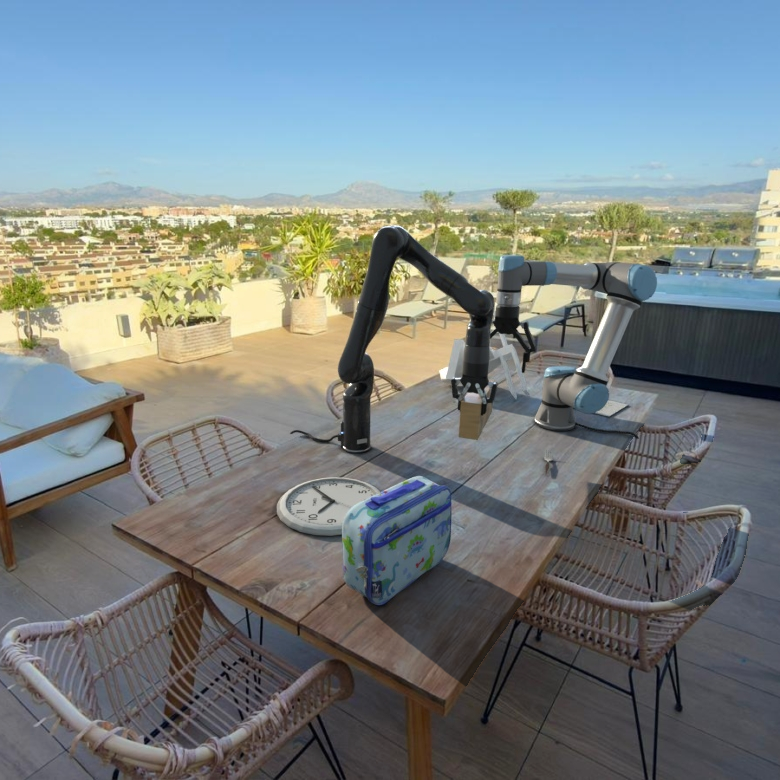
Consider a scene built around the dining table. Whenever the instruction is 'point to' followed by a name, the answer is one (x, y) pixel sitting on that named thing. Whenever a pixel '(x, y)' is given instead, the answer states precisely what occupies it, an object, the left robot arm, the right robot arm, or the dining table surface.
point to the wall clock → (322, 504)
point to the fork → (548, 460)
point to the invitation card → (611, 408)
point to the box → (473, 415)
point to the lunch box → (395, 537)
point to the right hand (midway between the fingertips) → (502, 369)
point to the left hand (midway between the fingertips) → (471, 413)
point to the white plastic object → (494, 362)
